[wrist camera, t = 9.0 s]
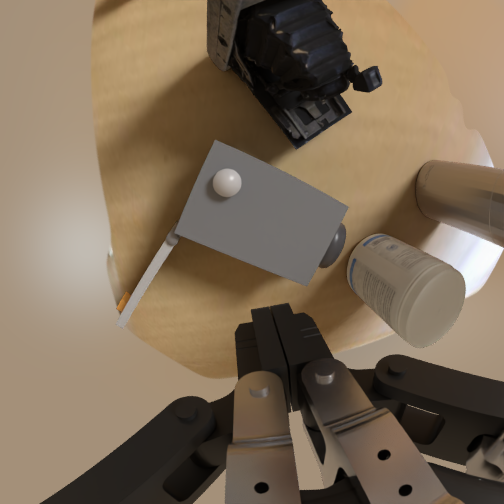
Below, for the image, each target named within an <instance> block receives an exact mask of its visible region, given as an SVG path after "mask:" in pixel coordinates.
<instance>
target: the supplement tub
mask: <svg viewBox="0 0 504 504" xmlns="http://www.w3.org/2000/svg"><path fill="white" fill-rule="evenodd" d="M347 280H348V283H349V285H350V287H351V289H352V290H353V291H354V292H355V293H356V294H357V295H358V296H359V297H360V298H361V299H362V300H363V301H364V302H365V303H366V304H367V305H368V306H369V307H370V308H371V309H372V310H373V311H374V312H375V313H376V314H377V315H379V316H380V317H381V318H382V319H383V320H384V321H385V322H386V323H387V324H388V325H389V326H390V327H391V328H392V329H393V330H394V331H395V332H396V333H397V334H398V335H399V336H400V337H401V338H403V339H404V340H405V341H407V342H408V343H409V344H410V345H412V346H413V347H416V348H424V347H427V346H430V345H432V344H434V343H436V342H437V341H438V340H440V339H441V338H442V337H443V336H444V335H445V334H446V333H447V332H448V331H449V330H450V328H451V327H452V326H453V324H454V323H455V321H456V319H457V318H458V316H459V313H460V311H461V309H462V306H463V303H464V299H465V291H466V288H465V281H464V278H463V276H462V274H461V273H460V272H459V271H457V270H456V269H454V268H453V267H452V266H451V265H449V264H447V263H445V262H443V261H441V260H439V259H438V258H436V257H433V256H431V255H429V254H427V253H425V252H423V251H421V250H419V249H417V248H415V247H413V246H411V245H409V244H407V243H404V242H402V241H400V240H398V239H396V238H394V237H391V236H389V235H386V234H374V235H371V236H368V237H366V238H365V239H363V240H362V241H361V242H360V243H359V244H358V245H357V246H356V247H355V249H354V250H353V252H352V254H351V256H350V258H349V262H348V266H347Z"/></svg>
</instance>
